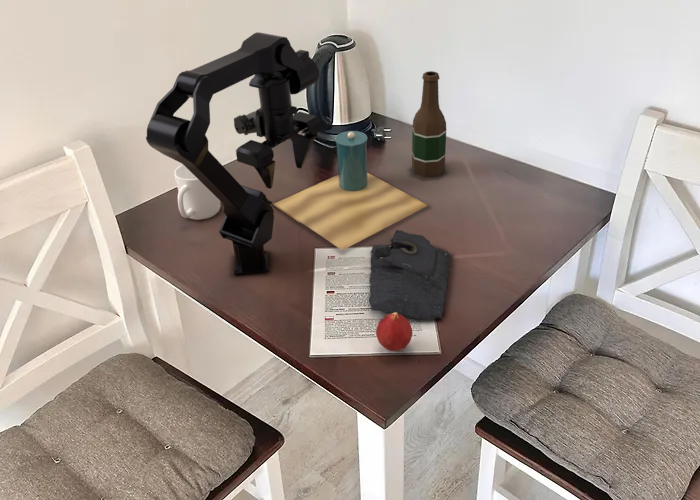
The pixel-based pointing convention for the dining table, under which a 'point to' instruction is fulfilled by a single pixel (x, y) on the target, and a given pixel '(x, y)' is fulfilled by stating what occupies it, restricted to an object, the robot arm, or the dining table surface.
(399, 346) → the onion
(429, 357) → the dining table surface
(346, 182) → the pot
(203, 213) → the cup
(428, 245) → the dark slate chunk
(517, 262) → the dining table surface
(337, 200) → the mat
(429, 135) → the beer bottle
